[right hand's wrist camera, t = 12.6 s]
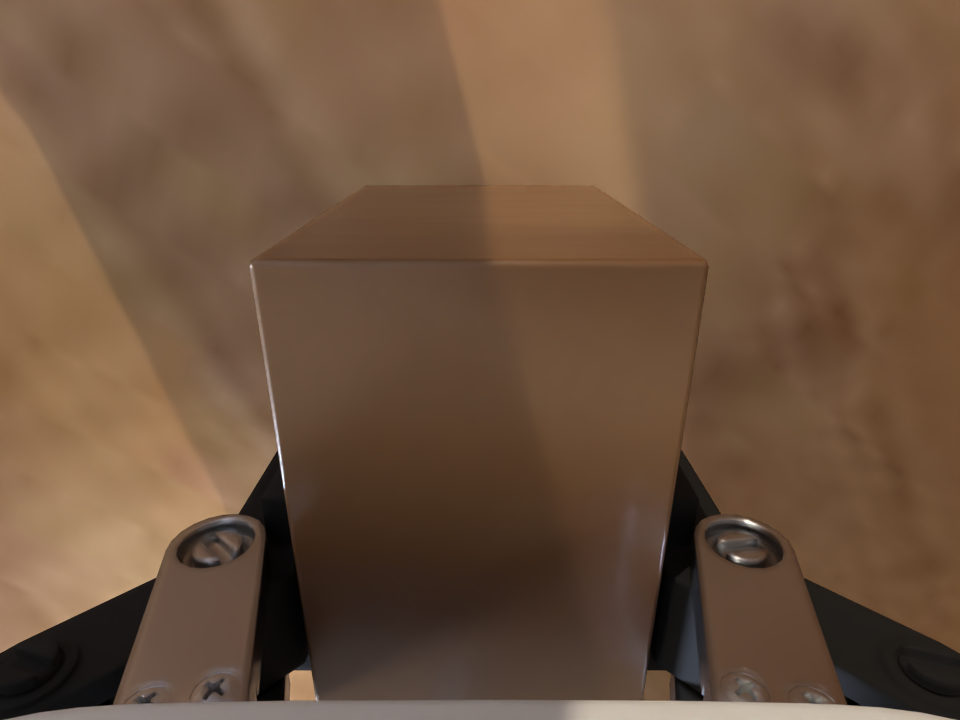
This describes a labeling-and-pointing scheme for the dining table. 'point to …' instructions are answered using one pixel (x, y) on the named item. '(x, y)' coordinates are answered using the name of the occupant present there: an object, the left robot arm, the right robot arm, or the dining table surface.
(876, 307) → the dining table surface
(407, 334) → the beam
